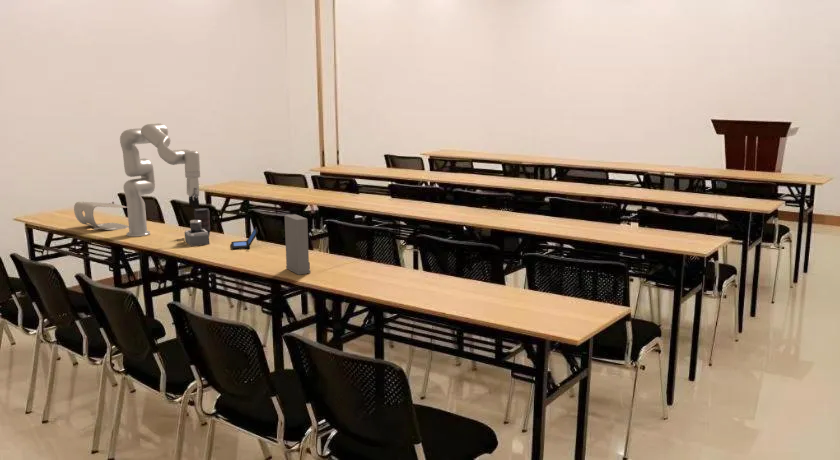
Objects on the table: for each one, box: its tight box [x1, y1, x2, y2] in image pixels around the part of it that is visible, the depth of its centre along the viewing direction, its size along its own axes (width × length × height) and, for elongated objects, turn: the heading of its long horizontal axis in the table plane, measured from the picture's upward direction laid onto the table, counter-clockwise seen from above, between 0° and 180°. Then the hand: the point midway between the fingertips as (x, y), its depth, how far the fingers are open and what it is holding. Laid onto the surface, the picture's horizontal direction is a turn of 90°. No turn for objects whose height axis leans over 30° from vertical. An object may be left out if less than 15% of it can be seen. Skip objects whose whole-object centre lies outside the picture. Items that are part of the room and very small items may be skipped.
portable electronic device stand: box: [73, 201, 129, 231], centre depth 427 cm, size 26×24×16 cm
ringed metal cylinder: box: [189, 219, 202, 233], centre depth 385 cm, size 6×6×7 cm
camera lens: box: [194, 208, 211, 236], centre depth 403 cm, size 8×8×15 cm
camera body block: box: [184, 229, 210, 247], centre depth 386 cm, size 14×10×6 cm
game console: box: [231, 226, 259, 251], centre depth 377 cm, size 16×14×9 cm
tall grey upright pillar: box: [284, 214, 312, 276], centre depth 323 cm, size 14×6×25 cm, turn 33°
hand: (194, 206), depth 383 cm, fingers open, 9 cm apart
